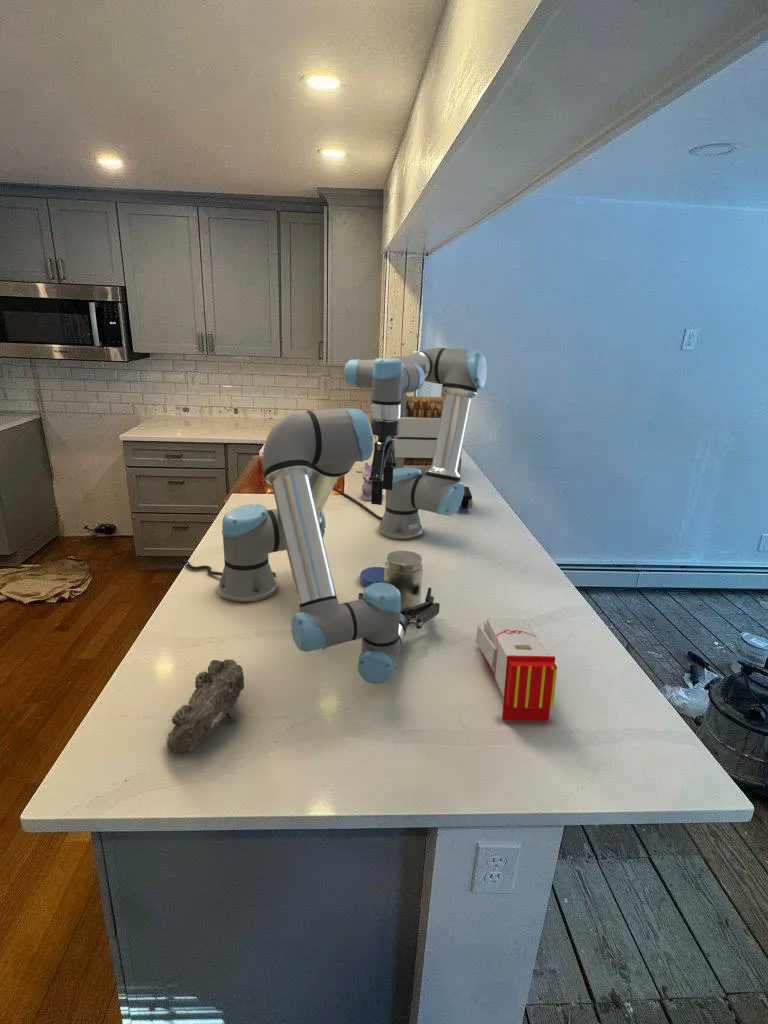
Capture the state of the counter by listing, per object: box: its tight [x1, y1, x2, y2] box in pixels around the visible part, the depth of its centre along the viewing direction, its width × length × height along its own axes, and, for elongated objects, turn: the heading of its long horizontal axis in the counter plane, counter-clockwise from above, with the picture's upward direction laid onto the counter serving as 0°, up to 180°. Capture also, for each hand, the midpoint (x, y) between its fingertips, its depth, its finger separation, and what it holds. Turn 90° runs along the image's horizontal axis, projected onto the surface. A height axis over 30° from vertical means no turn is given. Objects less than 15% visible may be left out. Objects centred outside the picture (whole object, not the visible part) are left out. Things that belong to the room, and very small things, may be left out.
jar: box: [384, 550, 424, 619], centre depth 146 cm, size 10×10×16 cm
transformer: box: [393, 389, 463, 476], centre depth 268 cm, size 34×33×41 cm
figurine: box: [361, 461, 377, 501], centre depth 234 cm, size 9×10×15 cm
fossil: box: [166, 658, 245, 754], centre depth 106 cm, size 22×10×15 cm
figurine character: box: [458, 486, 474, 513], centre depth 227 cm, size 7×8×15 cm
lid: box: [359, 566, 385, 589], centre depth 164 cm, size 11×11×2 cm
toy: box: [475, 618, 558, 722], centre depth 122 cm, size 12×13×30 cm
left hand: (403, 588), depth 147 cm, fingers open, 13 cm apart
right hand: (382, 496), depth 155 cm, fingers open, 13 cm apart
